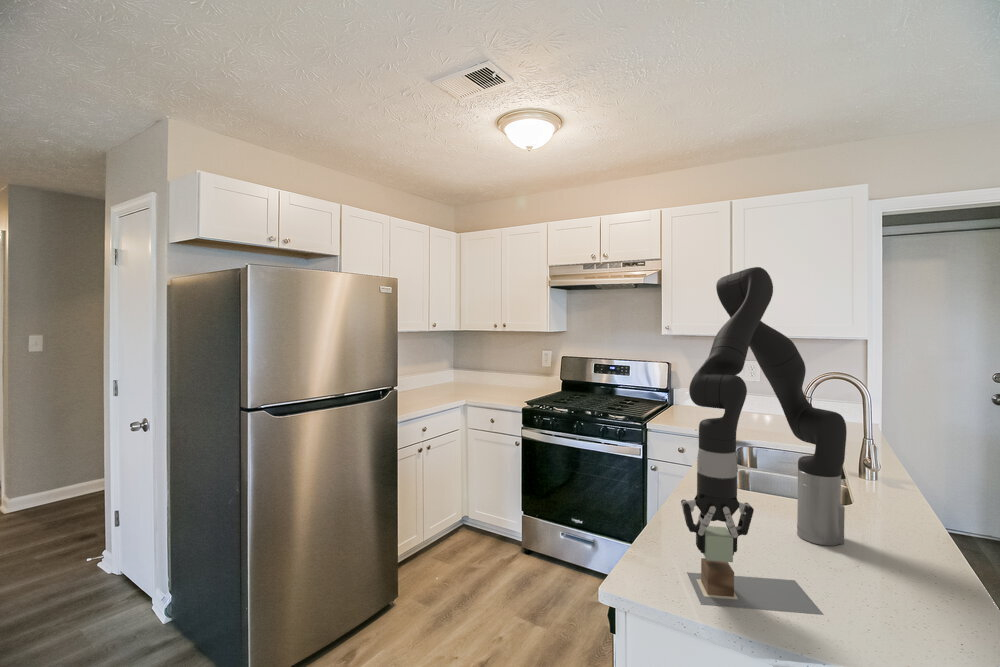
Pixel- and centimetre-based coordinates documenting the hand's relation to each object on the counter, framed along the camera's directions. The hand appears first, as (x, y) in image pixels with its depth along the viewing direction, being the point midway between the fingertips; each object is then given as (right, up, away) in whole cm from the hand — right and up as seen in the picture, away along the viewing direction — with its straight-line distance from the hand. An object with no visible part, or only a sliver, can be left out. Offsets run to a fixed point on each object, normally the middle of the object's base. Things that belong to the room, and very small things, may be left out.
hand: (716, 551), depth 98 cm
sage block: (0, -1, 0) cm, 1 cm away
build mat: (+7, -8, -1) cm, 11 cm away
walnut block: (0, -8, 0) cm, 8 cm away
